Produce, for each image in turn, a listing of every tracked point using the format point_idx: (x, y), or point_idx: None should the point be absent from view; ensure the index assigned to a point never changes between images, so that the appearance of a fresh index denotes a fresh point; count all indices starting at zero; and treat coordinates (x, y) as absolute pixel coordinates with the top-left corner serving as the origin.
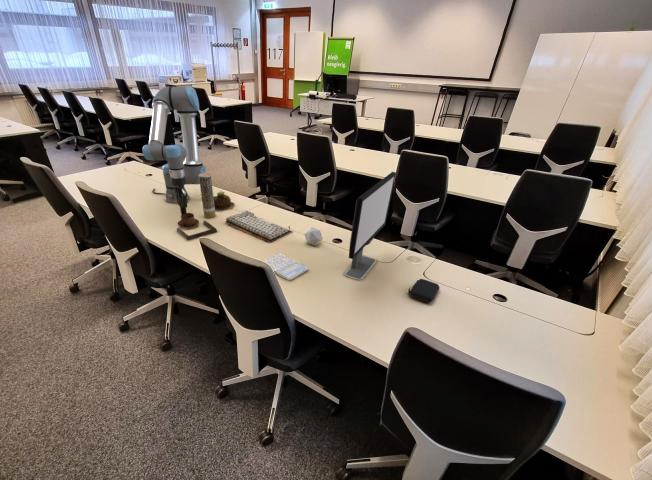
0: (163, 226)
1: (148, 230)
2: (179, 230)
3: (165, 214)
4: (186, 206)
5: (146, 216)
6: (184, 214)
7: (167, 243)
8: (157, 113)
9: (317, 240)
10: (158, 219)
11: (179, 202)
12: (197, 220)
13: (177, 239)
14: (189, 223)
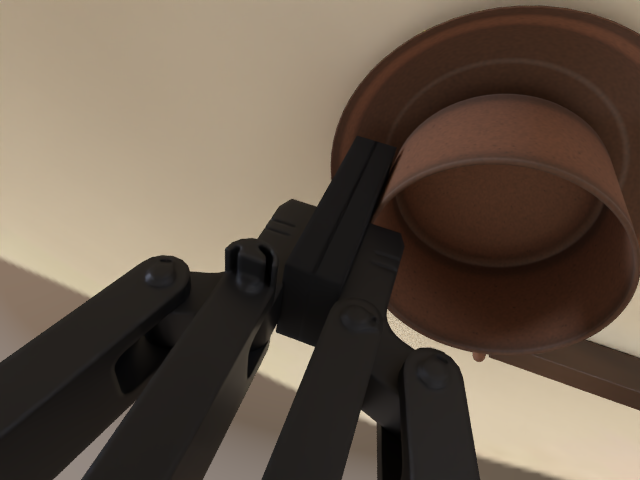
0: None
1: (279, 373)
2: (568, 384)
3: (21, 105)
4: (453, 407)
5: (23, 228)
6: None
7: (592, 475)
8: None
9: None
10: (120, 221)
11: (225, 432)
12: (572, 20)
13: (631, 426)
14: (582, 257)
